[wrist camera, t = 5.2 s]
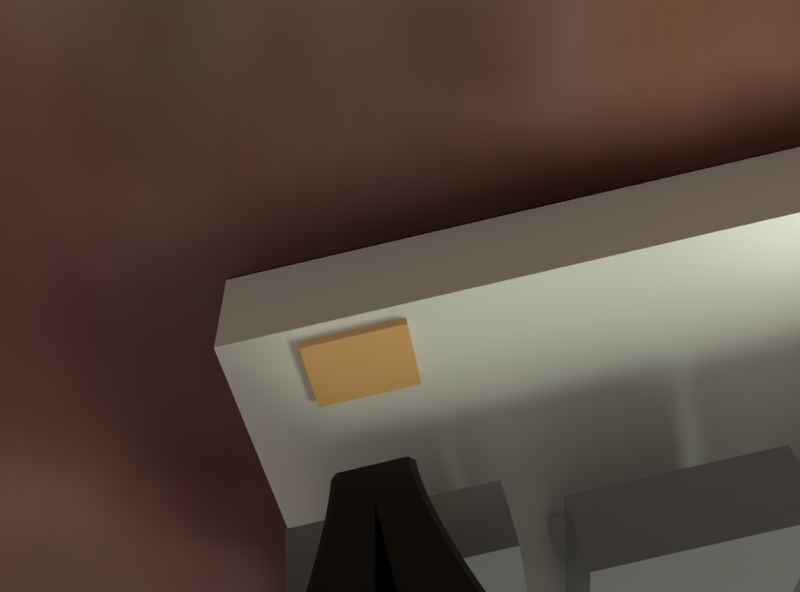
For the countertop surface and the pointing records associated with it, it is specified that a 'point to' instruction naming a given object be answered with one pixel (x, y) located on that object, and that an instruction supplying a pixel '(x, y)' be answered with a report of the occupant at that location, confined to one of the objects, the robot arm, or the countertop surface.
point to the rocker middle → (690, 529)
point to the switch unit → (533, 348)
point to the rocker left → (466, 525)
